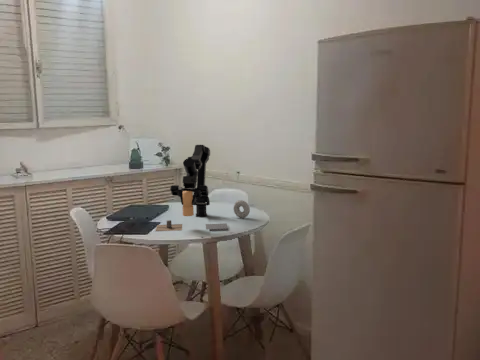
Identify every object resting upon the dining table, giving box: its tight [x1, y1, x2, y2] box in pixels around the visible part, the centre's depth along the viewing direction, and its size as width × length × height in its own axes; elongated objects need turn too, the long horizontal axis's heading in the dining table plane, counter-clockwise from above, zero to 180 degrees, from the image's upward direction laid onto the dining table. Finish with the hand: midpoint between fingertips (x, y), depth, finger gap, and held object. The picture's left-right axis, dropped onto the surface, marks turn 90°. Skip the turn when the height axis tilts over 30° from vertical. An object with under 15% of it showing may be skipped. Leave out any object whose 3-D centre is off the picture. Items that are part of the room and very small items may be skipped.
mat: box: [205, 223, 229, 232], centre depth 252 cm, size 11×11×1 cm
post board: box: [155, 219, 183, 232], centre depth 251 cm, size 13×13×4 cm
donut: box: [233, 199, 251, 219], centre depth 274 cm, size 10×4×10 cm, turn 59°
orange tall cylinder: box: [182, 191, 195, 217], centre depth 247 cm, size 5×5×12 cm
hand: (187, 204), depth 246 cm, fingers closed on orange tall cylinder, 5 cm apart
